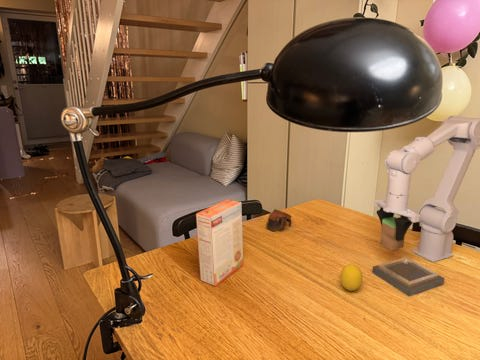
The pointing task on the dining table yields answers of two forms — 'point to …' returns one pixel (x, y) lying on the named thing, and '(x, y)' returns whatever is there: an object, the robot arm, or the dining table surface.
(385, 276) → the gray square tray
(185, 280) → the dining table surface
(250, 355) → the dining table surface
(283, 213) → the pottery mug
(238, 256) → the cracker box
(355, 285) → the lemon
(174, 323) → the dining table surface
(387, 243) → the brown and green block
